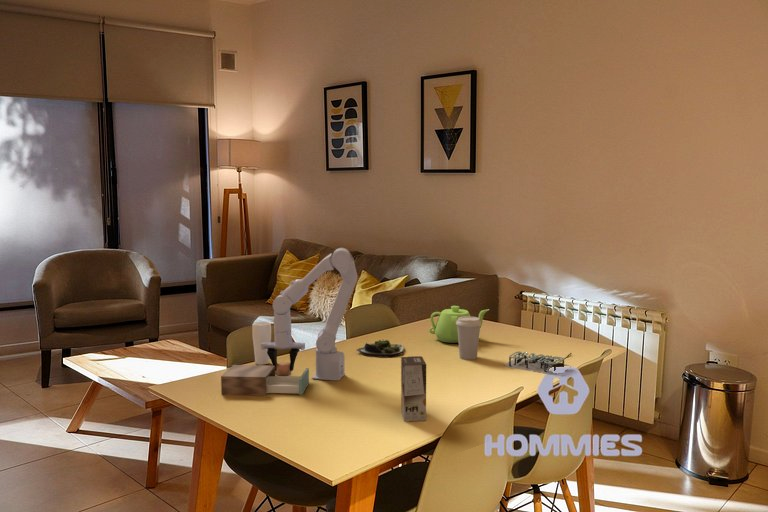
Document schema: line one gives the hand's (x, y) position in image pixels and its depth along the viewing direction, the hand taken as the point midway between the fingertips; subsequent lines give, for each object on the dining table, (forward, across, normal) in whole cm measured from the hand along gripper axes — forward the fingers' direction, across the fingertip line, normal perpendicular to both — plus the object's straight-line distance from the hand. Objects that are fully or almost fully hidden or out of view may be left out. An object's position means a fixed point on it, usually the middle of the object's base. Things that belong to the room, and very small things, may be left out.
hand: (283, 370), depth 223 cm
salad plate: (+3, -31, -36) cm, 48 cm away
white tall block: (+3, +12, -16) cm, 20 cm away
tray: (+2, -3, +13) cm, 13 cm away
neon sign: (+4, -92, -25) cm, 95 cm away
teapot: (+3, -62, -57) cm, 84 cm away
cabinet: (+2, +8, +13) cm, 16 cm away
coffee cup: (+3, -64, -29) cm, 70 cm away
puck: (+2, 0, 0) cm, 2 cm away
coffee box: (+3, -45, +34) cm, 56 cm away
